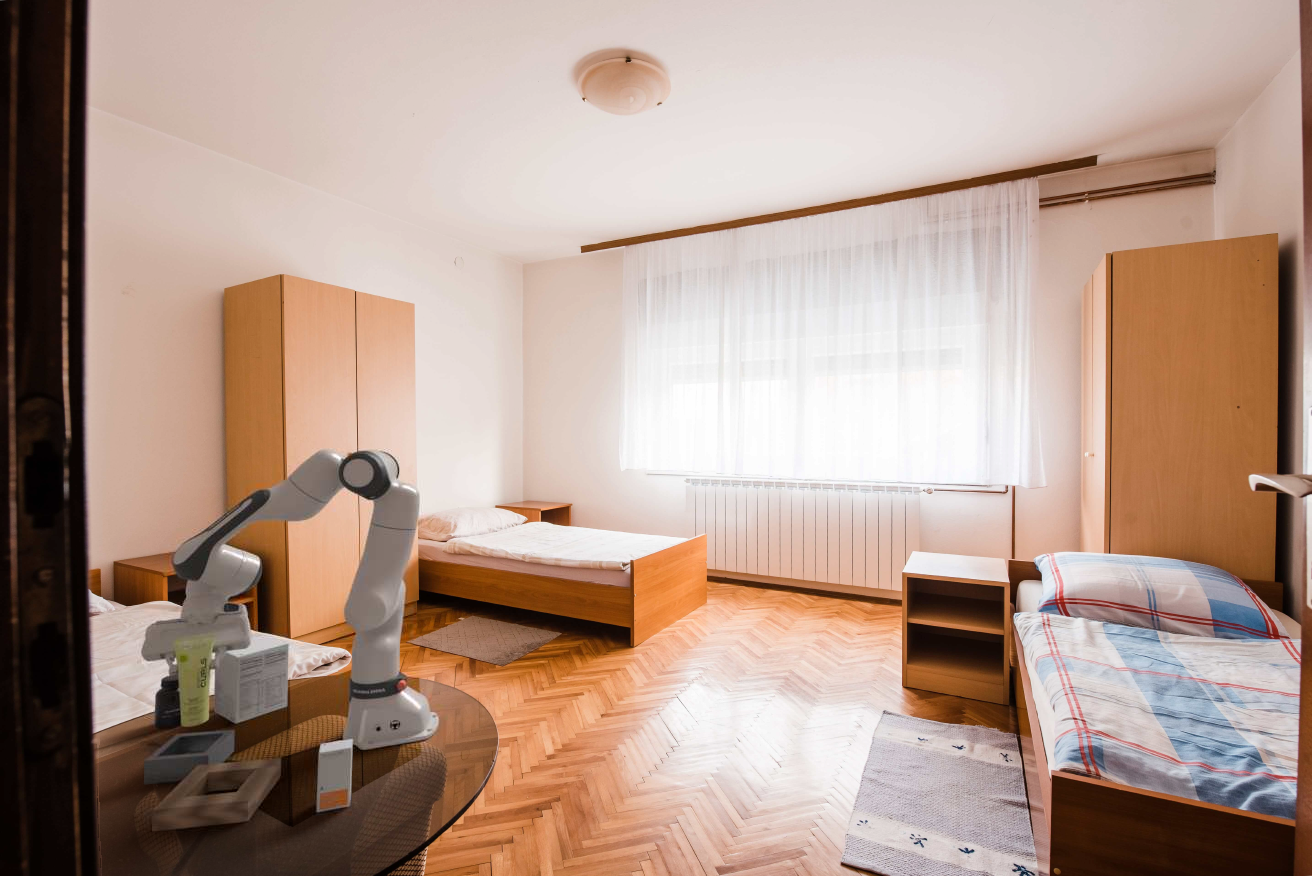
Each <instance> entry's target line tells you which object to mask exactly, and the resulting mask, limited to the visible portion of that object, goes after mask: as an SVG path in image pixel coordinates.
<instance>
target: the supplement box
mask: <svg viewBox="0 0 1312 876" xmlns="http://www.w3.org/2000/svg"><path fill="white" fill-rule="evenodd" d="M289 645H290V644H289V643H287V642H285V641H282V640H279V639H276V638H274V637H271V636H268V635H262V636H259V637H258V636H257V637H254V638H251V644H250V645H249V647H247V648H246V649H239V650H232V651H227V654H226V656H225V657H224V658H223V659H222V661H221V662H220V663H219V669H214V692H213V693H214V695H213V696H214V699H213V702H214V703H213V712H214V713H215V714H218V715H219V716H221V717H223V718H225V719H226V720H228V721H230V722H231V723H234V724H239V723H242V722H245V721H248V720H251V719H254V718H257V717H260V716H263V715H266V714H268V713H272V712H275V711H277V710H280V709H284V708H287V707H288V687H289V686H288V681H289V678H288V677H289V651H290V650H289V647H290V646H289ZM218 655H219V652H217V653H214V659H215V658H216V657H217V656H218Z"/></svg>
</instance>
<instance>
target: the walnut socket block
mask: <svg viewBox="0 0 1312 876" xmlns="http://www.w3.org/2000/svg"><path fill="white" fill-rule="evenodd" d="M281 769H282V758H281V757H279V758H267V759H266V758H265V759H256V760H255V759H254V760H246V761H245V760H244V761H232V762H231V761H229V762H223V763H219V764H207V765H198V766H197V767H196V768H195V769H194V770H193V771H192V772H191V773H190V774H189V775H188V776H187V777H186V778H185V779H184V780H183V781H180V782H179V783H178V784H177V785H176V786H175V787H174V789H172V791H170V792H169V793H168V794H167V795H166V796H165V797H164V798H163V799H162V800H161V801H160V802H159V803H158V804H157V805H156V806H155V807H153V809H152V824H151V827H152V830H151V832H159V831H160V832H161V831H168V830H169V831H170V830H177V829H178V830H179V829H187V828H197V827H206V826H216V825H225V824H235V823H243V822H248V821H249V820H250V819H251V818H252V817H253V815H254V813H255V812H256V811H257V809H258V808H259V806H260V805H261V804H262V803H263V801H264V800H265V798H266V797H267V796H268V794H269V793H270V791H271V790H272V789H273V788H274V787H275V785H276V784H277V782H278V781H279V779H280V778H281V774H282V770H281ZM228 790H237V791H236V792H235V791H233V792H224V793H214V794H207V793H208V792H218V791H228Z"/></svg>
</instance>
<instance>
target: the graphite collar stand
mask: <svg viewBox="0 0 1312 876" xmlns="http://www.w3.org/2000/svg"><path fill="white" fill-rule="evenodd" d="M235 733H236V732H235V729H226V730H212V731H202V732H201V731H199V732H197V731H196V732H188V733H187V732H186V733H176V734H175V735H173V736H172V737H171V738H170V739H169V740H168V741H166V743H164V744H163V745H162V746H161V747H159V748H158V749H157V750H155V752H153V753H152V754H151V755H150V756H149V757H147V758H146V759H145V760H144V767H143V768H144V770H143V773H144V774H143V779H144V780H143V785H151V784H152V785H153V784H163V783H164V784H165V783H172V782H174V783H175V782H182V781H183V780H184V779H185V778H186V777H187V776H188V775H189V774H190V773H191V772H192V771H193V770H194V769H195V768H196V767H197V766H198V765H207V764H219V763H225V761H226V760H227V759H228V758H229V757H230V756H231V755H232V754H233V752H235Z"/></svg>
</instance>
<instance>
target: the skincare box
mask: <svg viewBox="0 0 1312 876" xmlns="http://www.w3.org/2000/svg"><path fill="white" fill-rule="evenodd" d="M319 745H320V746H319V750H318V758H317V759H318V762H317V783H316V784H317V786H316V788H317V789H316V813H321V812H325V811H330V810H331V811H332V810H336V809H342V808H348V807H350V804H351V799H352V797H351V796H352V771H353V746H354V745H353V739H349V740H344V739H342V740H336V741H335V740H334V741H332V742H325V743H320V744H319Z"/></svg>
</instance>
